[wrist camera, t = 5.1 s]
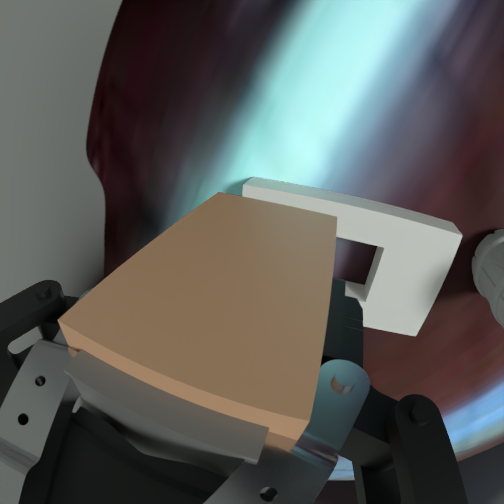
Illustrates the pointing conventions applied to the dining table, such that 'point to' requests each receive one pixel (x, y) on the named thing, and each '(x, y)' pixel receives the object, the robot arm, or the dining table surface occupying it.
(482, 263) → the mug
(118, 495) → the robot arm
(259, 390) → the plug
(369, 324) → the socket plate
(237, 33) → the dining table surface
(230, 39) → the dining table surface
